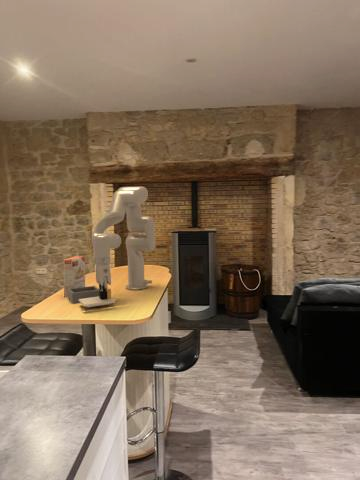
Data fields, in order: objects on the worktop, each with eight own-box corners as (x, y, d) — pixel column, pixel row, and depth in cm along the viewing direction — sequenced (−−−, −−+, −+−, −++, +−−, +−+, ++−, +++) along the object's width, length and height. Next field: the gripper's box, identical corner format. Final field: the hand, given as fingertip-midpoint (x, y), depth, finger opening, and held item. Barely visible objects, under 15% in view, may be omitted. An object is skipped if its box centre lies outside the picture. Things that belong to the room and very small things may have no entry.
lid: (108, 298, 177) (107, 286, 176) (115, 304, 167) (114, 291, 166) (78, 302, 170) (78, 290, 169) (84, 308, 160) (83, 295, 159)
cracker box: (74, 298, 186) (72, 259, 184) (63, 298, 187) (62, 259, 185) (86, 292, 199) (85, 255, 197) (76, 292, 200) (75, 255, 199)
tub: (95, 296, 190) (94, 285, 189) (100, 301, 180) (100, 289, 179) (68, 300, 183) (67, 288, 182) (72, 305, 173) (72, 293, 173)
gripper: (114, 262, 163) (116, 301, 165) (105, 258, 177) (106, 294, 178) (98, 263, 159) (100, 303, 161) (90, 259, 173) (91, 296, 175)
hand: (103, 298), depth 170 cm, fingers closed on lid, 1 cm apart
